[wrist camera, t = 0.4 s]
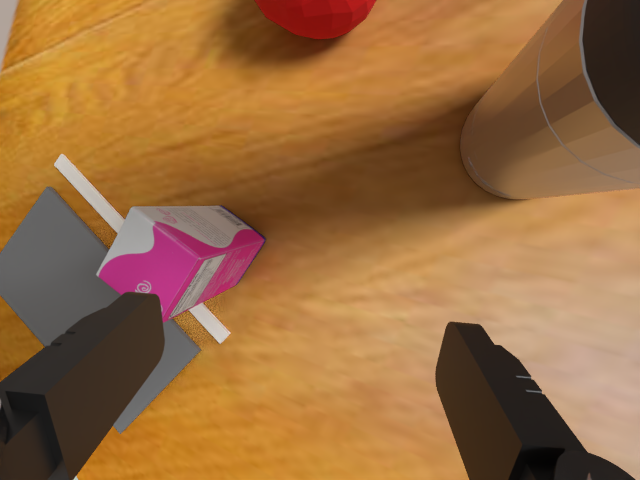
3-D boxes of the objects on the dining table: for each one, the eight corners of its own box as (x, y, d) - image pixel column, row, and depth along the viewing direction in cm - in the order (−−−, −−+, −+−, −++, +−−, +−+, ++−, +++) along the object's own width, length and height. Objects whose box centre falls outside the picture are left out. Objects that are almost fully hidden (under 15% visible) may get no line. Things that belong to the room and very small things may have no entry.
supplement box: (191, 253, 33) (90, 274, 22) (221, 204, 32) (131, 199, 20) (236, 288, 32) (156, 328, 21) (268, 239, 31) (202, 254, 20)
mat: (51, 187, 35) (46, 186, 35) (201, 349, 33) (198, 351, 33) (-11, 275, 38) (-16, 276, 38) (123, 430, 36) (120, 433, 36)
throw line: (64, 154, 35) (61, 153, 34) (230, 333, 33) (229, 334, 32) (56, 165, 35) (53, 164, 35) (221, 342, 33) (219, 343, 33)
